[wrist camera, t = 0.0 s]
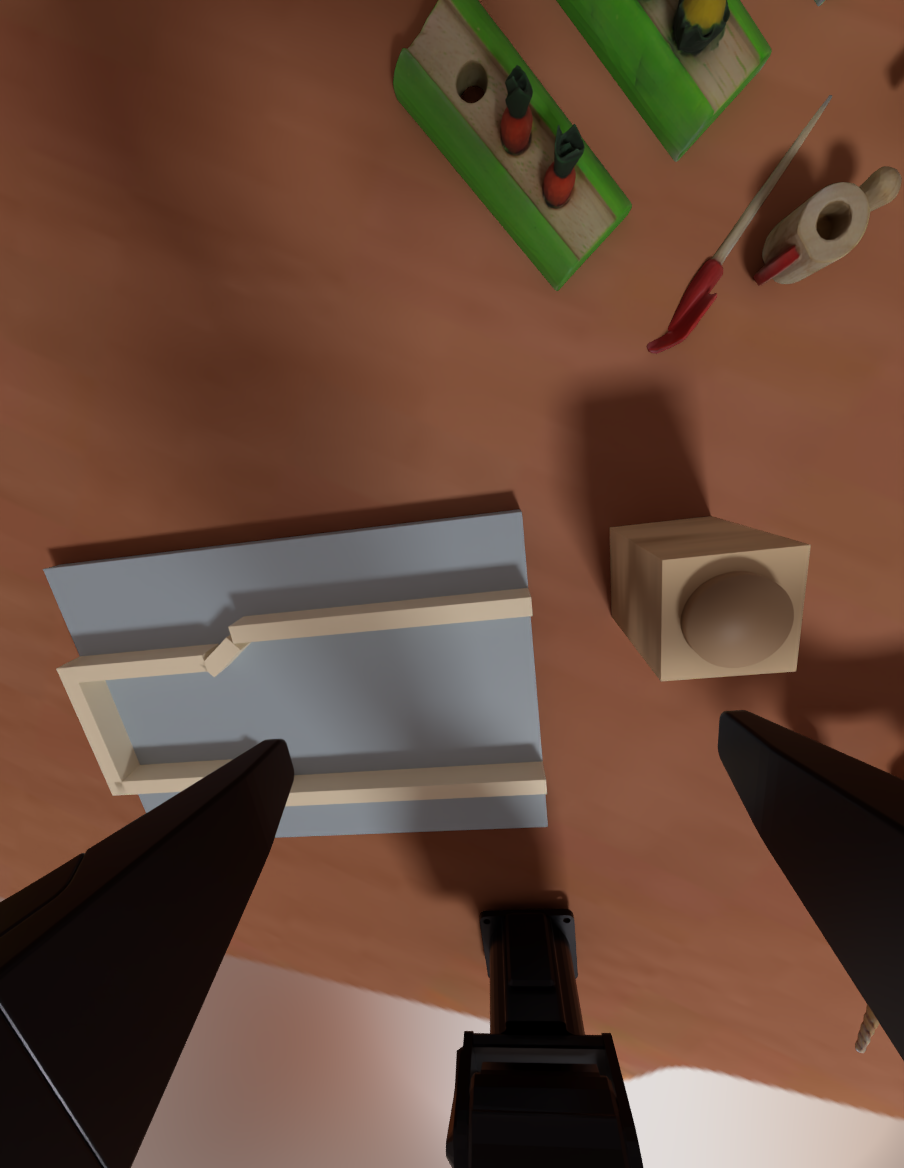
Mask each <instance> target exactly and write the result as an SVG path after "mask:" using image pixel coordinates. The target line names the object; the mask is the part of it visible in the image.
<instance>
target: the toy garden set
mask: <svg viewBox="0 0 904 1168" xmlns="http://www.w3.org/2000/svg"><path fill="white" fill-rule="evenodd" d="M556 1H557V2H558V3H559V5H560V6H561V7H562V9H563V10H564V11H565V13H566V14H567V16H568V17H569V18H570V20H571V21H572V22H573V24H574V25H575V26H576V28H577V29H578V30H579V32H580V33H581V35H582V36H583V37H584V39H585V40H586V41H587V43H588V44H589V45H590V47H591V48H592V49H593V51H594V52H595V54H596V55H597V56H598V58H599V59H600V60H601V62H602V63H603V64H604V66H605V67H606V69H607V70H608V71H609V73H610V74H611V75H612V77H613V78H614V79H615V81H616V82H617V83H618V85H619V86H620V88H621V89H622V90H623V92H624V93H625V94H626V96H627V97H628V99H629V100H630V101H631V103H632V104H633V105H634V107H635V108H636V109H637V111H638V112H639V114H640V115H641V116H642V118H643V119H644V120H645V122H646V123H647V125H648V126H649V127H650V129H651V130H652V131H653V133H654V134H655V135H656V137H657V138H658V139H659V141H660V142H661V144H662V145H663V146H664V148H665V149H666V150H667V152H668V153H669V154H670V156H671V157H672V158H673V160H674V161H675V162H676V161H678V160H679V159H680V158H681V157H682V156H683V155H684V154H685V152H686V151H687V150H688V149H689V148H690V147H691V146H692V145H693V144H694V142H695V141H696V140H697V139H698V138H699V137H700V136H701V135H702V134H703V133H704V131H705V130H706V129H707V128H708V127H709V126H710V125H711V124H712V123H713V122H714V120H715V119H716V118H717V117H718V116H719V115H720V114H721V113H722V112H723V111H724V109H725V108H726V107H727V106H728V105H729V104H730V103H731V102H732V101H733V100H734V98H735V97H736V96H737V95H738V94H739V93H740V92H741V91H742V90H743V89H744V87H745V86H746V85H747V84H748V83H749V82H750V81H751V80H752V79H753V78H754V76H755V75H756V74H757V73H758V72H759V71H760V70H761V68H762V67H763V66H764V64H765V63H766V61H767V59H768V58H769V56H770V54H771V48H770V46H769V45H768V43H767V41H766V40H765V38H764V37H763V35H762V34H761V32H760V30H759V29H758V27H757V26H756V24H755V23H754V21H753V20H752V18H751V17H750V15H749V13H748V12H747V10H746V9H745V7H744V6H743V4H742V3H741V1H740V0H556ZM814 1H815V2H816V4H817V6H820V5H821V4H822V3H823V2H824V1H825V0H814ZM393 86H394V91H395V94H396V98H397V100H398V101H399V102H400V103H401V104H402V106H403V107H404V108H405V109H406V110H407V112H408V113H409V114H410V115H411V116H412V117H413V119H414V120H415V121H416V122H417V123H418V125H419V126H420V127H421V128H422V129H423V131H424V132H425V133H426V134H427V135H428V137H429V138H430V139H431V140H432V142H433V143H434V144H435V145H436V146H437V148H438V149H439V150H440V151H441V152H442V154H443V155H444V156H445V157H446V158H447V160H448V161H449V162H450V163H451V165H452V166H453V167H454V168H455V169H456V171H457V172H458V173H459V174H460V175H461V177H462V178H463V179H464V180H465V182H466V183H467V184H468V185H469V186H470V188H471V189H472V190H473V191H474V192H475V194H476V195H477V196H478V197H479V199H480V200H481V201H482V202H483V203H484V205H485V206H486V207H487V208H488V209H489V211H490V212H491V213H492V214H493V215H494V217H495V218H496V219H497V220H498V221H499V223H500V224H501V225H502V226H503V227H504V229H505V230H506V231H507V232H508V234H509V235H510V236H511V237H512V238H513V240H514V241H515V242H516V243H517V244H518V246H519V247H520V248H521V249H522V251H523V252H524V253H525V254H526V255H527V257H528V258H529V259H530V260H531V261H532V263H533V264H534V265H535V266H536V267H537V269H538V270H539V271H540V272H541V273H542V275H543V276H544V277H545V278H546V280H547V281H548V282H549V283H550V284H551V286H552V287H553V288H554V289H555V290H556V291H558V290H559V289H560V288H561V287H562V286H563V285H564V284H565V283H566V281H567V280H568V279H569V278H570V277H571V276H572V275H573V274H574V273H575V272H576V270H577V269H578V268H579V267H580V266H581V265H582V264H583V263H584V262H585V261H586V260H587V258H588V257H589V256H590V255H591V254H592V253H593V252H594V251H595V250H596V249H597V248H598V247H599V246H600V244H601V243H602V242H603V241H604V240H605V239H606V238H607V237H608V236H609V235H610V234H611V232H612V231H613V230H614V229H615V228H616V227H617V226H618V225H619V224H620V223H621V221H622V220H623V219H624V218H625V217H626V216H627V215H628V213H629V211H630V210H631V208H632V204H631V202H630V201H629V199H628V198H627V197H626V195H625V194H624V193H623V191H622V190H621V189H620V188H619V186H618V185H617V184H616V182H615V181H614V180H613V178H612V177H611V176H610V174H609V173H608V172H607V170H606V169H605V167H604V166H603V165H602V164H601V162H600V161H599V160H598V158H597V157H596V156H595V154H594V153H593V152H592V150H591V149H590V148H589V146H588V145H587V144H586V142H585V141H584V140H583V138H582V137H581V135H580V133H579V131H578V129H577V127H576V125H575V124H574V125H572V124H571V122H570V121H569V120H568V118H567V117H566V116H565V114H564V113H563V112H562V110H561V109H560V108H559V106H558V105H557V104H556V102H555V101H554V100H553V98H552V97H551V96H550V94H549V93H548V92H547V91H546V89H545V88H544V87H543V85H542V84H541V83H540V81H539V80H538V79H537V77H536V76H535V75H534V73H533V72H532V71H531V69H530V68H529V67H528V66H527V64H526V63H525V61H524V60H523V59H522V57H521V56H520V55H519V53H518V52H517V51H516V49H515V48H514V47H513V45H512V44H511V43H510V41H509V40H508V39H507V37H506V36H505V35H504V34H503V32H502V31H501V30H500V29H499V27H498V26H497V25H496V23H495V22H494V21H493V20H492V18H491V17H490V16H489V14H488V13H487V12H486V10H485V9H484V8H483V6H482V5H481V4H480V2H479V1H478V0H438V1H437V3H436V5H435V7H434V9H433V10H432V12H431V13H430V15H429V17H428V18H427V20H426V22H425V24H424V26H423V28H422V30H421V32H420V34H419V35H418V36H417V37H416V38H415V40H414V41H413V43H412V44H411V46H410V47H409V48H408V49H406V48H403V49H402V51H401V53H400V56H399V58H398V61H397V64H396V68H395V72H394V79H393ZM470 86H479V87H481V88H482V89H483V90H484V92H485V94H484V96H483V97H482V98H481V99H480V100H478V101H477V102H475V103H467V102H465V101H464V100H462V99H461V95H462V93H463V92H464V91H465V89H466V88H467V87H470ZM831 98H832V95H829V97H828V98H827V99H826V101H825V102H824V103H823V105H822V106H821V107H820V108H819V110H818V111H817V112H816V114H815V115H814V116H813V118H812V119H811V120H810V122H809V123H808V125H807V126H806V127H805V128H804V129H803V130H802V132H801V133H800V135H799V136H798V138H797V139H796V141H795V142H794V143H793V145H792V146H791V148H790V149H789V150H788V152H787V153H786V154H785V156H784V157H783V159H782V160H781V161H780V163H779V164H778V166H777V167H776V168H775V170H774V171H773V173H772V174H771V175H770V177H769V178H768V180H767V181H766V182H765V184H764V185H763V186H762V188H761V189H760V190H759V192H758V193H757V195H756V196H755V197H754V199H753V200H752V201H751V203H750V204H749V206H748V207H747V208H746V210H745V211H744V213H743V214H742V216H741V217H740V219H739V220H738V222H737V223H736V225H735V226H734V228H733V229H732V231H731V232H730V233H729V235H728V236H727V238H726V239H725V240H724V242H723V243H722V245H721V246H720V248H719V249H718V250H717V252H716V253H715V254H714V256H713V257H712V258H711V259H710V260H708V261H706V262H705V263H704V265H703V266H702V268H701V269H700V270H699V272H698V273H697V274H696V276H695V277H694V278H693V280H692V282H691V283H690V285H689V286H688V288H687V290H686V292H685V293H684V295H683V297H682V299H681V301H680V304H679V306H678V308H677V310H676V312H675V314H674V316H673V319H672V321H671V323H670V325H669V327H668V333H666V334H665V335H664V336H662V337H660V338H658V339H656V340H654V341H652V342H650V343H648V345H647V349H648V351H649V352H651V353H656V354H657V353H660V352H662V351H664V350H666V349H669V348H671V347H673V346H675V345H677V344H679V343H681V342H682V341H683V340H685V339H686V338H687V336H688V335H689V334H690V333H691V331H692V330H693V329H694V328H695V327H696V325H697V324H698V322H699V321H700V319H701V318H702V317H703V315H704V314H705V313H706V311H707V310H708V309H709V307H710V306H711V305H712V303H713V302H714V300H715V299H716V298H717V293H715V294H709V293H710V292H711V290H712V289H713V287H714V286H715V285H716V283H717V282H718V280H719V279H720V277H721V276H722V275H723V267H722V263H723V262H724V260H725V258H726V257H727V255H728V254H729V253H730V251H731V250H732V248H733V247H734V245H735V244H736V242H737V241H738V239H739V238H740V236H741V235H742V233H743V232H744V230H745V229H746V227H747V226H748V225H749V223H750V222H751V220H752V219H753V217H754V216H755V214H756V213H757V211H758V210H759V208H760V207H761V205H762V204H763V202H764V201H765V199H766V198H767V196H768V195H769V193H770V192H771V190H772V189H773V187H774V186H775V184H776V183H777V181H778V180H779V178H780V177H781V175H782V174H783V172H784V171H785V169H786V168H787V166H788V165H789V163H790V162H791V160H792V159H793V157H794V156H795V154H796V153H797V151H798V149H799V148H800V146H801V145H802V143H803V142H804V140H805V139H806V137H807V136H808V134H809V132H810V131H811V129H812V128H813V126H814V125H815V123H816V122H817V120H818V119H819V117H820V115H821V114H822V112H823V111H824V109H825V108H826V106H827V105H828V103H829V101H830V100H831ZM901 179H902V178H901V175H900V174H899V172H898V171H897V169H894V168H892V167H886V166H884V167H881V168H879V169H878V170H877V171H875V172H874V173H873V174H872V175H871V176H870V177H869V178H868V179H867V180H866V181H865V182H864V183H863V184H862V185H861V186H860V187H858V186H857V185H855V184H853V183H848V182H840V183H834V184H831V185H828V186H826V187H824V188H823V189H821V190H820V191H818V192H817V193H816V194H814V195H813V196H812V197H811V198H809V199H808V200H807V201H806V202H804V203H803V204H802V205H801V206H799V207H798V208H797V209H796V210H794V211H793V212H792V213H791V214H789V215H788V216H787V217H786V218H784V219H783V220H782V221H781V222H779V223H778V224H777V225H776V226H775V227H774V228H773V230H772V231H771V232H770V234H769V235H768V237H767V239H766V241H765V244H764V248H763V253H762V258H763V260H764V263H765V265H764V266H763V267H762V268H761V269H760V270H759V271H758V272H757V273H756V274H755V275H754V279H755V281H756V282H757V284H758V286H759V285H762V284H764V283H766V282H767V281H769V280H770V279H772V278H773V279H774V281H775V282H777V283H781V284H792V283H795V282H798V281H800V280H802V279H804V278H806V277H807V276H809V275H811V274H813V273H815V272H817V271H818V270H820V269H822V268H824V267H826V266H827V265H829V264H831V263H833V262H835V261H836V260H838V259H840V258H842V257H844V256H845V255H846V254H848V253H849V252H850V251H851V250H852V249H853V248H854V247H855V246H856V245H857V244H858V243H859V241H860V239H861V238H862V236H863V235H864V232H865V230H866V228H867V225H868V221H869V215H870V212H871V211H873V210H875V209H877V208H879V207H881V206H883V205H885V204H887V203H889V202H891V201H892V200H893V199H894V198H895V197H896V195H897V194H898V192H899V189H900V186H901Z"/></svg>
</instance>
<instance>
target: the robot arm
mask: <svg viewBox="0 0 904 1168" xmlns="http://www.w3.org/2000/svg"><path fill="white" fill-rule="evenodd" d="M718 752H719V756H720V759H721V761H722V763H723V765H724V767H725V769H726V771H727V773H728V775H729V777H730V779H731V781H732V783H733V785H734V787H735V788H736V790H737V792H738V794H739V796H740V798H741V800H742V802H743V804H744V806H745V808H746V810H747V812H748V814H749V816H750V818H751V820H752V822H753V824H754V826H755V827H756V829H757V831H758V833H759V835H760V837H761V838H762V840H763V841H764V843H765V845H766V846H767V848H768V850H769V851H770V853H771V854H772V856H773V857H774V859H775V861H776V862H777V864H778V865H779V867H780V868H781V870H782V872H783V873H784V875H785V876H786V878H787V879H788V881H789V882H790V884H791V886H792V887H793V889H794V890H795V892H796V893H797V895H798V897H799V898H800V900H801V901H802V903H803V904H804V906H805V907H806V909H807V911H808V912H809V914H810V915H811V917H812V918H813V920H814V922H815V923H816V925H817V926H818V928H819V929H820V931H821V932H822V934H823V936H824V937H825V939H826V940H827V942H828V943H829V945H830V946H831V948H832V950H833V951H834V953H835V954H836V956H837V957H838V959H839V961H840V962H841V964H842V965H843V967H844V968H845V970H846V971H847V973H848V975H849V976H850V978H851V979H852V981H853V982H854V984H855V986H856V987H857V989H858V990H859V992H860V993H861V995H862V996H863V998H864V1000H865V1001H866V1003H867V1004H868V1006H869V1007H870V1009H871V1011H872V1012H873V1014H874V1015H875V1017H876V1018H877V1020H878V1021H879V1023H880V1025H881V1026H882V1028H883V1029H884V1031H885V1032H886V1034H887V1036H888V1037H889V1039H890V1040H891V1042H892V1043H893V1045H894V1046H895V1048H896V1050H897V1051H898V1053H899V1054H900V1056H901V1057H902V1059H903V1061H904V780H903V779H901V778H898V777H896V776H894V775H892V774H889V773H887V772H885V771H883V770H880V769H878V768H876V767H873V766H871V765H869V764H867V763H864V762H862V761H860V760H858V759H855V758H853V757H851V756H848V755H846V754H844V753H842V752H839V751H837V750H835V749H833V748H830V747H828V746H826V745H823V744H821V743H819V742H817V741H814V740H812V739H810V738H808V737H805V736H803V735H801V734H798V733H796V732H794V731H792V730H789V729H787V728H785V727H783V726H780V725H778V724H776V723H773V722H771V721H769V720H767V719H764V718H762V717H760V716H758V715H755V714H753V713H751V712H748V711H746V710H736V711H724V712H723V713H722V714H721V716H720V720H719V735H718ZM293 781H294V767H293V763H292V760H291V756H290V753H289V749H288V746H287V743H286V741H285V740H283V739H267V740H264V741H262V742H260V743H259V744H257V745H255V746H254V747H252V748H251V749H249V750H247V751H246V752H244V753H242V754H241V755H239V756H238V757H236V758H234V759H233V760H231V761H230V762H228V763H226V764H225V765H223V766H222V767H220V768H218V769H217V770H215V771H213V772H212V773H210V774H209V775H207V776H205V777H204V778H202V779H201V780H199V781H197V782H196V783H194V784H192V785H191V786H189V787H188V788H186V789H184V790H183V791H181V792H180V793H178V794H176V795H175V796H173V797H172V798H170V799H168V800H167V801H165V802H163V803H162V804H160V805H159V806H157V807H155V808H154V809H152V810H151V811H149V812H147V813H146V814H144V815H143V816H141V817H139V818H138V819H136V820H134V821H133V822H131V823H130V824H128V825H126V826H125V827H123V828H122V829H120V830H118V831H117V832H115V833H113V834H112V835H110V836H109V837H107V838H105V839H104V840H102V841H101V842H99V843H97V844H96V845H94V846H93V847H91V848H89V849H88V850H87V851H86V853H81V854H79V855H78V856H76V857H75V858H73V859H71V860H70V861H68V862H67V863H65V864H63V865H62V866H60V867H58V868H57V869H55V870H54V871H52V872H50V873H49V874H47V875H45V876H44V877H42V878H40V879H39V880H37V881H35V882H34V883H32V884H30V885H29V886H27V887H25V888H24V889H22V890H21V891H19V892H17V893H15V894H14V895H12V896H10V897H9V898H7V899H5V900H3V901H2V902H0V1168H131V1166H132V1164H133V1162H134V1159H135V1157H136V1155H137V1153H138V1150H139V1148H140V1146H141V1143H142V1141H143V1139H144V1137H145V1134H146V1132H147V1130H148V1127H149V1125H150V1123H151V1121H152V1118H153V1116H154V1114H155V1112H156V1109H157V1107H158V1105H159V1103H160V1100H161V1098H162V1096H163V1093H164V1091H165V1089H166V1087H167V1084H168V1082H169V1080H170V1077H171V1075H172V1073H173V1071H174V1069H175V1066H176V1064H177V1062H178V1059H179V1057H180V1055H181V1053H182V1050H183V1048H184V1046H185V1044H186V1041H187V1039H188V1037H189V1034H190V1032H191V1030H192V1028H193V1025H194V1023H195V1021H196V1019H197V1016H198V1014H199V1012H200V1010H201V1007H202V1005H203V1003H204V1000H205V998H206V996H207V994H208V991H209V989H210V987H211V984H212V982H213V980H214V978H215V975H216V973H217V971H218V969H219V966H220V964H221V962H222V960H223V957H224V955H225V953H226V950H227V948H228V946H229V944H230V941H231V939H232V937H233V935H234V932H235V930H236V928H237V926H238V923H239V921H240V919H241V916H242V914H243V912H244V910H245V907H246V905H247V903H248V901H249V898H250V896H251V894H252V891H253V889H254V887H255V885H256V882H257V880H258V878H259V876H260V873H261V871H262V869H263V866H264V864H265V862H266V859H267V857H268V855H269V852H270V850H271V847H272V844H273V841H274V838H275V835H276V832H277V829H278V826H279V823H280V820H281V817H282V814H283V811H284V808H285V805H286V802H287V799H288V796H289V793H290V790H291V787H292V784H293ZM480 926H481V933H482V939H483V946H484V952H485V959H486V965H487V972H488V976H489V978H490V1034H484V1033H481V1034H480V1033H473V1031H465V1032H464V1042H463V1047H462V1048H460V1049H459V1050H457V1059H456V1060H457V1061H456V1079H455V1091H454V1098H453V1104H452V1110H451V1116H450V1122H449V1128H448V1134H447V1140H446V1157H447V1159H448V1161H449V1163H450V1165H451V1166H452V1168H643V1163H642V1158H641V1153H640V1148H639V1143H638V1138H637V1134H636V1129H635V1125H634V1121H633V1117H632V1113H631V1109H630V1106H629V1101H628V1098H627V1093H626V1090H625V1086H624V1082H623V1078H622V1074H621V1070H620V1066H619V1062H618V1059H617V1055H616V1051H615V1047H614V1043H613V1039H612V1035H611V1033H602V1035H585V1032H584V1026H583V1021H582V1015H581V1009H580V1003H579V997H578V991H577V985H576V980H575V979H576V978H577V976H578V972H577V956H576V941H575V926H574V917H573V913H572V912H571V911H570V910H568V909H549V910H495V911H483V912H481V913H480Z"/></svg>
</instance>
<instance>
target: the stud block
mask: <svg viewBox="0 0 904 1168" xmlns="http://www.w3.org/2000/svg"><path fill="white" fill-rule="evenodd" d="M810 546H811V545H809V544H806V543H802V542H799V541H796V540H792V539H789V538H785V537H782V536H778V535H775V534H771V533H768V532H764V531H761V530H758V529H754V528H751V527H747V526H744V525H740V524H737V523H733V522H730V521H726V520H723V519H720V518H716V517H713V516H706V517H697V518H688V519H680V520H671V521H662V522H653V523H644V524H636V525H627V526H618V527H610V569H611V611H612V618H613V619H614V620H615V622H616V623H617V624H618V626H619V627H620V628H621V629H622V631H623V632H624V633H625V635H626V636H627V637H628V639H629V640H630V641H631V643H632V644H633V645H634V647H635V648H636V649H637V651H638V652H639V653H640V655H641V656H642V657H643V658H644V660H645V661H646V662H647V664H648V665H649V666H650V668H651V669H652V670H653V672H654V673H655V674H656V676H657V677H658V678H659V680H660V681H672V680H686V679H699V678H713V677H727V676H740V675H754V674H768V673H781V672H795V671H796V668H797V660H798V651H799V642H800V633H801V625H802V616H803V607H804V599H805V590H806V581H807V572H808V564H809V555H810Z"/></svg>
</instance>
